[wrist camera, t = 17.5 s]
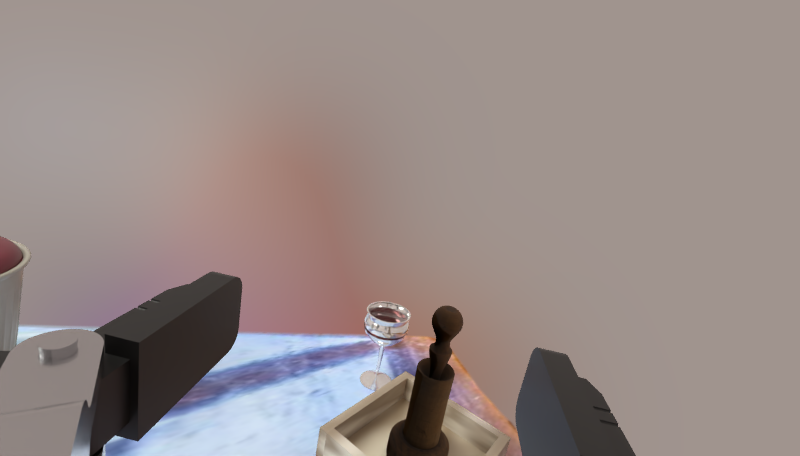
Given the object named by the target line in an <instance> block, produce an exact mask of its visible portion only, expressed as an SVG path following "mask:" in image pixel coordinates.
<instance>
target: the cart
mask: <svg viewBox="0 0 800 456" xmlns="http://www.w3.org/2000/svg"><path fill="white" fill-rule="evenodd" d="M414 380H415V377H414V376H412V375H411V374H409V373H408V372H406V371H405V372H404V373H402V374H401V375H399V376H398V377H396V378H395V379H393V380H392V381H390V382H389V383H387V384H386V385H384V386H383V387H381V388H379V389H378V390H376V391H375V392H373V393H372V394H370V395H369V396H367V397H366V398H364V399H363V400H361V401H360V402H358V403H357V404H355V405H354V406H352V407H351V408H349V409H347V410H346V411H344V412H343V413H341V414H340V415H338V416H337V417H335V418H334V419H332V420H331V421H329V422H328V423H326V424H325V425H323V426H322V427H320V431H319V438H318V444H317V450H316V456H386V448H387V443H388V439H389V435H390V431H391V429H392V427H393V426H394V425H395V424H396V423H398V422H399V421H401V420H404V419H406V416H407V412H408V407H409V403H410V398H411V394H412V389H413V384H414ZM441 430H442V431H443V432H444V434H445V435H446V437H447V439H448V442H449V453H448V456H505V455H506V451H507V448H508V445H509V442H510V439H511V438H510V437H509V436H507V435H506V434H504V433H503V432H501V431H499V430H498V429H496V428H495V427H493V426H491V425H490V424H488V423H487V422H485V421H484V420H482V419H480V418H479V417H477V416H476V415H474V414H473V413H471V412H469V411H468V410H466V409H465V408H463V407H461V406H460V405H458V404H457V403H455V402H454V401H452V400H450V399H448V403H447V407H446V411H445V415H444V420H443V424H442V428H441Z"/></svg>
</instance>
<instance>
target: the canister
mask: <svg viewBox="0 0 800 456" xmlns="http://www.w3.org/2000/svg"><path fill="white" fill-rule="evenodd" d="M30 259H31V252H30V250H29V249H28V248H27V247H26V246H24V245H22V244H20V243H18V242H15V241H12V240H9V239H6V238H4V237H1V236H0V351H11V350H12V349H13V348H14V347H15V346H16V342H17V334H18V325H19V314H20V302H21V292H22V281H23V269H24V267H26V266H27V264H28V263H29V261H30Z"/></svg>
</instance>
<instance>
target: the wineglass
mask: <svg viewBox="0 0 800 456" xmlns="http://www.w3.org/2000/svg"><path fill="white" fill-rule="evenodd" d="M367 311H368V314H367V316H366V318H365V322H364V326H365V331H366V333H367V335H368V336H369V337H370V338H371V340H372V341H374V342H375V343H377V344H379V346H380V348H379V355H378V362H377V369H376V370H369V371H366V372H364V373H363V374H361V377H360V381H361V383H362V384H363V385H364V386H365V387H367V388H369V389H371V390H378V389H379V388H381V387H383V386H384V385H386V384H387V383H389V382H390V381H391V379H390V378H389V376H388V375H387V374H385V373H383V372H381V371H379V369H380V365H381V360H382V356H383V352H384V348H385V347H386V346H392V345H394V344H396V343H398V342H400V341H402V340H403V339H404V337H405V336H406V334H407V332H408V328H409V323H408V321H409V319H410V316H411V315H410V312H409V311H408V310H407V309H406V308H404V307H403V306H401V305H398V304H395V303H391V302H384V301H382V302H374V303H372V304H370V305H369V306H368V308H367Z"/></svg>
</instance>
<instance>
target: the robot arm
mask: <svg viewBox="0 0 800 456" xmlns="http://www.w3.org/2000/svg"><path fill="white" fill-rule="evenodd" d="M241 293H242V282H241V280H240V278H238V277H234V276H229V275H225V274H221V273H217V272H210V273H208V274H206V275H204V276H203V277H201V278H199V279H198V280H196V281H194V282H192V283H191V284H187V285H183V286H179V287H176V288H172V289H169V290H166V291H164V292H163V293H161V294H159V295H157V296H156V297H154V298H152V299H151V301H147V302H145V303H143V304H141V305H140V306H138V308H134V309H132V310H131V311H129V312H127V313H125V314H123V315H122V316H120V317H118V318H116V319H114V320H113V321H111V322H109V323H107V324H106V325H104V326H102V327H100V328H98V329H97V330H95V331H88V330H82V329H66V330H58V331H52V332H48V333H44V334H40V335H37V336H34V337H32V338H29V339H27V340H25V341H23V342H21V343H20V344H18V345H17V346H15V347H14V348H13V349H12V350H11V351H0V456H105V444H106V443H107V442H108V441H109V440H110V439H111V438H113V437H114V436H115V435H116V436H120V437H124V438H127V439H131V440H135V441H139V440H140V439H141V438H142V437H143V436H144V435H145V434H146V433H147V432H148V431H149V430H150V429H151V428H152V427H153V426H154V425H155V424H156V423H157V422H158V421H159V420H160V419H161V418H162V417H163V416H164V415H165V414H166V413H167V412H168V411H169V410H170V409H171V408H172V407H173V406H174V405H175V404H176V403H177V402H178V401H179V400H180V399H181V398H182V397H183V396H184V395H185V394H186V393H187V392H188V391H189V390H190V389H191V388H192V387H193V386H194V385H195V384H196V383H198V382H199V381H200V380H201V379H202V378H203V377H204V376H205V375H206V374H207V373H208V372H209V371H210V370H211V369H212V368H213V367H214V366H215V365H216V364H217V363H218V362H219V361H220V360H221V359H222V358H223V357H224V356H225V355H226V354H227V353H228V352H229V351H230V349H231V348H232V346H233V344H234V342H235V340H236V337H237V334H238V328H239V317H240V306H241ZM610 411H611V410H610V408H609V407H608V405H607V403H606V401H605V399H604V397H603V396H602V394H601V393H600V392H599V391H598V390H597V389H596V388H595V387H594V386H593V385H591V383H590V382H588V381H587V380H586V379H584V378H580V377H578V375H577V373H576V371H575V370H574V368H573V365H572V363H571V361H570V359H569V357H568V356H567V355H566V354H563V353H559V352H554V351H549V350H545V349H541V348H535V349H534V350H533V352H532V354H531V358H530V360H529V364H528V367H527V370H526V373H525V377H524V380H523V383H522V387H521V390H520V393H519V397H518V401H517V405H516V426H517V431H518V436H519V441H520V445H521V450H522V455H523V456H636V455H635V453H634V452H633V450H632V448H631V446H630V444H629V443H628V441H627V439H626V437H625V435H624V434H623V432H622V430H621V428H620V427H618V423H617V421H616V419H615V417H614V416H613V414H612V413H610Z"/></svg>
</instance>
